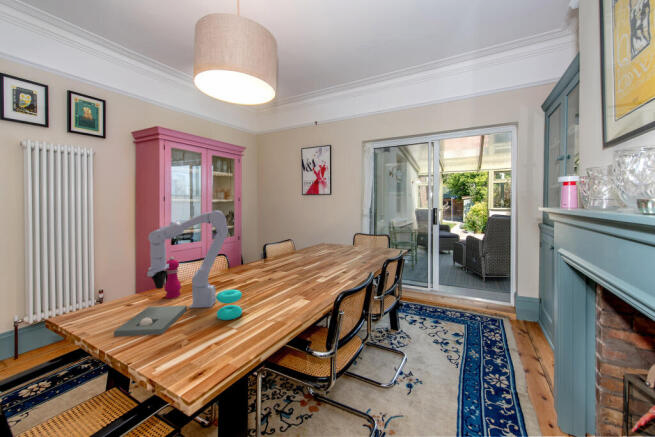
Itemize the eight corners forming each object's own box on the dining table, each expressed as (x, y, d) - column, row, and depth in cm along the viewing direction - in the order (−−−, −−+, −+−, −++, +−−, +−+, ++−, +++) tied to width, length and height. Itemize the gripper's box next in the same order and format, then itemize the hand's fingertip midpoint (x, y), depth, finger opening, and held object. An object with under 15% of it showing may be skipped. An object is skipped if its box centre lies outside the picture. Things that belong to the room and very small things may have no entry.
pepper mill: (161, 297, 136) (159, 257, 134) (174, 293, 142) (173, 254, 141) (171, 299, 133) (170, 258, 132) (184, 294, 140) (183, 255, 138)
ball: (147, 325, 100) (150, 331, 103) (152, 315, 103) (155, 321, 106) (136, 325, 100) (139, 331, 102) (141, 315, 103) (144, 321, 105)
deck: (187, 310, 120) (186, 305, 120) (162, 334, 98) (161, 328, 98) (148, 311, 119) (148, 306, 118) (114, 336, 97) (113, 330, 97)
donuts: (213, 291, 115) (238, 287, 121) (214, 314, 116) (238, 309, 121) (218, 298, 107) (244, 293, 112) (219, 323, 107) (245, 317, 113)
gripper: (157, 254, 126) (158, 283, 127) (138, 261, 112) (140, 294, 113) (173, 254, 127) (174, 283, 128) (157, 261, 113) (158, 293, 114)
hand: (159, 288), depth 120 cm, fingers closed
